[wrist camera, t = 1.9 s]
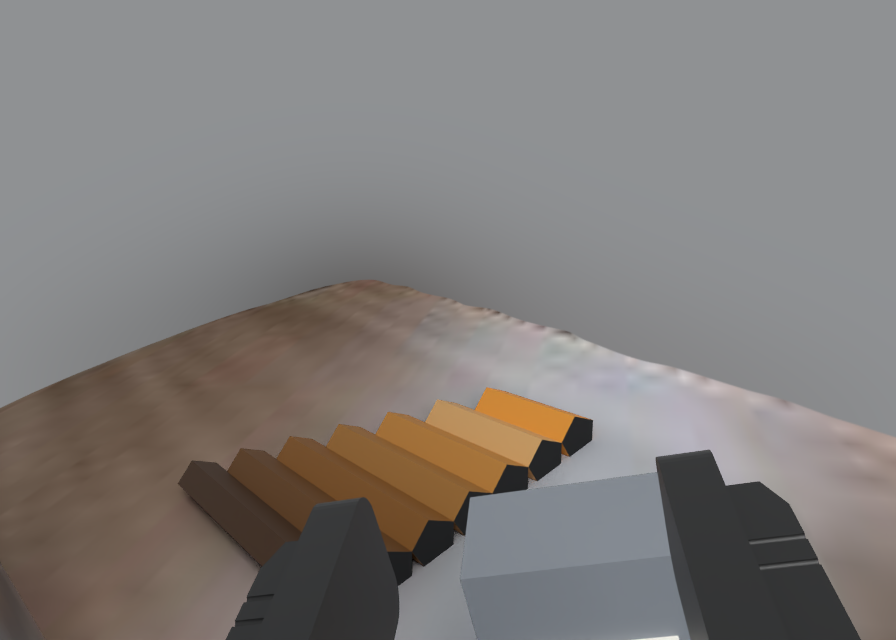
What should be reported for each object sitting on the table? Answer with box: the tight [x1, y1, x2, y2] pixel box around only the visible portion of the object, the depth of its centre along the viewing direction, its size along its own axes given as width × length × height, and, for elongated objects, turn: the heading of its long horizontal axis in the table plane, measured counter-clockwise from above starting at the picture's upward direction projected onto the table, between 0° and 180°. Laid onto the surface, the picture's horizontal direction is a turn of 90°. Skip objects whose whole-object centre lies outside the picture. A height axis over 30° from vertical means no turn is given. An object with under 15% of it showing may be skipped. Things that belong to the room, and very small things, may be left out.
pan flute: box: [178, 388, 593, 586], centre depth 59 cm, size 25×3×25 cm
